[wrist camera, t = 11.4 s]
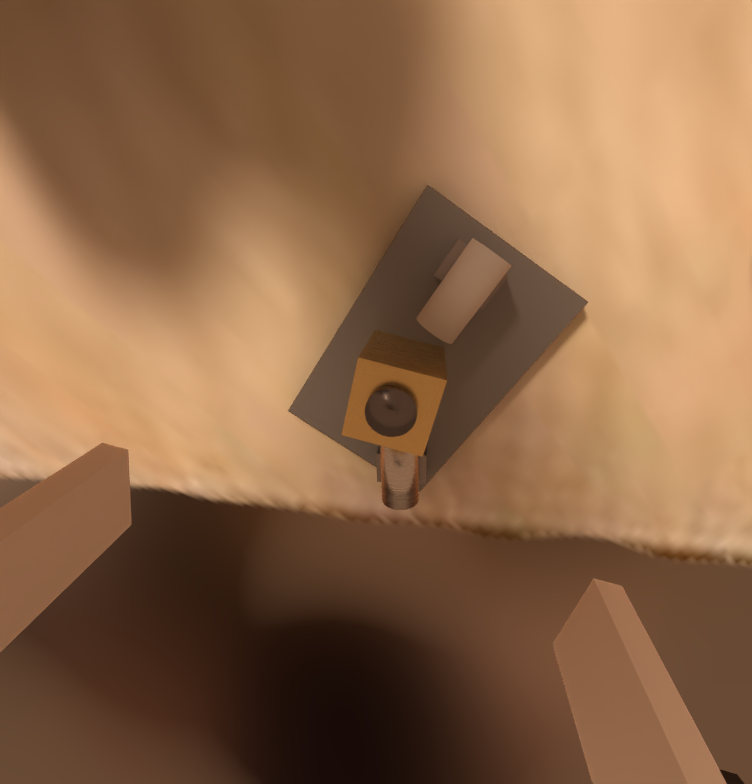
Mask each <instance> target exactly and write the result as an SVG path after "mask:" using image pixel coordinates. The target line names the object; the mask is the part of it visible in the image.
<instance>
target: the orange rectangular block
mask: <svg viewBox="0 0 752 784" xmlns="http://www.w3.org/2000/svg"><path fill="white" fill-rule="evenodd" d="M446 382H447V373H446V361H445V349H444V347H441V346H437V345H433V344H429V343H425V342H421V341H417V340H413V339H409V338H405V337H401V336H398V335H394V334H390V333H386V332H382V331H378V330H375V331H374V332H373V334H372V336H371V337H370V339H369V341H368V342H367V344H366V345H365V347H364V349H363V350H362V352H361V354H360V355H359V357H358V360H357V365H356V370H355V374H354V379H353V384H352V388H351V393H350V398H349V402H348V407H347V411H346V416H345V421H344V425H343V430H342V435H343V436H347V437H351V438H354V439H358V440H362V441H366V442H369V443H373V444H377V445H381V446H384V447H388V448H392V449H395V450H399V451H403V452H407V453H410V454H414V455H418V456H421V457H423V454H424V451H425V448H426V445H427V442H428V439H429V436H430V433H431V429H432V426H433V423H434V420H435V417H436V414H437V411H438V408H439V404H440V401H441V398H442V395H443V392H444V389H445V386H446Z"/></svg>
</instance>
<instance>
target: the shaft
mask: <svg viewBox="0 0 752 784" xmlns="http://www.w3.org/2000/svg"><path fill="white" fill-rule="evenodd" d="M376 457H377V482H381V484H382V501H383V503H384V504H385V505H386V506H387V507H389V508H391V509H395V510H406V509H410V508H412V507H414V506H415V505H416V504H417V503H418V500H419V484H426V474H427V445H426V448H425V451H424V454H423V457H421V456H418V455H414V454H410V453H407V452H403V451H399V450H395V449H392V448H388V447H384V446H381V445H378V449H377V453H376Z"/></svg>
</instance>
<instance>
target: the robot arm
mask: <svg viewBox="0 0 752 784" xmlns="http://www.w3.org/2000/svg"><path fill="white" fill-rule="evenodd" d="M130 525H131V507H130V480H129V456H128V450H127V449H123V448H119V447H116V446H112V445H108V444H105V443H101V444H100V445H98V446H97V447H95V448H94V449H92V450H90V451H89V452H87V453H86V454H84V455H83V456H81V457H79V458H78V459H76V460H75V461H73V462H72V463H70V464H69V465H67V466H65V467H64V468H62V469H61V470H59V471H58V472H56V473H54V474H53V475H51V476H50V477H48V478H47V479H45V480H44V481H42V482H41V483H39V484H38V485H36V486H34V487H33V488H31V489H30V490H28V491H27V492H25V493H23V494H22V495H20V496H19V497H17V498H16V499H14V500H12V501H11V502H9V503H8V504H6V505H5V506H3V507H2V508H0V652H1V651H2V650H3V649H4V648H5V647H6V646H7V645H8V644H9V643H10V642H11V641H12V640H13V639H14V638H15V637H16V636H17V635H18V634H19V633H20V632H21V631H22V630H24V629H25V628H26V627H27V626H28V625H29V624H30V623H31V622H32V621H33V620H34V619H35V618H36V617H37V616H38V615H39V614H40V613H41V612H42V611H43V610H44V609H45V608H46V607H47V606H48V605H49V604H50V603H51V602H52V601H53V600H54V599H55V598H56V597H57V596H58V595H60V593H62V592H63V591H64V590H65V589H66V588H67V587H68V586H69V585H70V584H71V583H72V582H73V581H74V580H75V579H76V578H77V577H78V576H79V575H80V574H81V573H82V572H83V571H84V570H85V569H86V568H87V567H88V566H89V565H90V564H91V563H92V562H93V561H94V560H95V559H96V558H98V557H99V556H100V554H102V553H103V552H104V551H105V550H106V549H107V548H108V547H109V546H110V545H111V544H112V543H113V542H114V541H115V540H116V539H117V538H118V537H119V536H120V535H121V534H122V533H123V532H124V531H125V530H126V529H127V528H128V527H129V526H130ZM552 645H553V648H554V652H555V655H556V659H557V662H558V666H559V669H560V673H561V676H562V680H563V683H564V687H565V690H566V694H567V697H568V701H569V704H570V708H571V711H572V715H573V718H574V721H575V725H576V728H577V732H578V736H579V739H580V742H581V746H582V749H583V753H584V756H585V760H586V763H587V767H588V770H589V774H590V777H591V781H592V784H744V783H743V781H742V780H741V779H740V778H739V776H738V775H737V774H734V773H730V772H727V771H724V770H720V769H719V768H718V766H717V765H716V763H715V761H714V759H713V757H712V755H711V753H710V751H709V749H708V747H707V746H706V744H705V742H704V740H703V738H702V736H701V734H700V732H699V730H698V728H697V727H696V725H695V723H694V721H693V719H692V718H691V715H690V713H689V712H688V710H687V708H686V706H685V704H684V702H683V701H682V699H681V696H680V695H679V693H678V691H677V689H676V687H675V685H674V683H673V681H672V680H671V678H670V676H669V674H668V672H667V670H666V668H665V666H664V664H663V662H662V661H661V659H660V657H659V655H658V653H657V651H656V649H655V647H654V645H653V643H652V642H651V640H650V638H649V636H648V634H647V632H646V630H645V628H644V626H643V625H642V623H641V621H640V619H639V617H638V615H637V613H636V611H635V610H634V608H633V606H632V604H631V602H630V600H629V598H628V596H627V594H626V592H625V591H624V589H623V587H622V586H620V585H616V584H613V583H609V582H605V581H602V580H598V579H595V578H594V579H593V580H592V582H591V583H590V585H589V586H588V588H587V589H586V591H585V593H584V594H583V596H582V598H581V599H580V601H579V602H578V604H577V605H576V607H575V609H574V610H573V612H572V613H571V615H570V616H569V618H568V620H567V621H566V623H565V624H564V626H563V628H562V629H561V631H560V632H559V634H558V636H557V637H556V639H555V640H554V642H553V644H552Z"/></svg>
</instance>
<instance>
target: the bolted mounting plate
mask: <svg viewBox="0 0 752 784" xmlns="http://www.w3.org/2000/svg"><path fill="white" fill-rule="evenodd" d="M587 303H588V302H587V301H586V300H585V299H583V298H582V297H581V296H579V295H578V294H577V293H575V292H574V291H572V290H571V289H570V288H568V287H567V286H566V285H564V284H563V283H561V282H560V281H559V280H557V279H556V278H555V277H553V276H552V275H551V274H549V273H548V272H546V271H545V270H544V269H542V268H541V267H540V266H538V265H537V264H535V263H534V262H533V261H531V260H530V259H529V258H527V257H526V256H525V255H523V254H522V253H520V252H519V251H518V250H516V249H515V248H514V247H512V246H511V245H509V244H508V243H507V242H505V241H504V240H503V239H501V238H500V237H499V236H497V235H496V234H494V233H493V232H492V231H490V230H489V229H488V228H486V227H485V226H483V225H482V224H481V223H479V222H478V221H477V220H475V219H474V218H472V217H471V216H470V215H468V214H467V213H466V212H464V211H463V210H462V209H460V208H459V207H457V206H456V205H455V204H453V203H452V202H451V201H449V200H448V199H446V198H445V197H444V196H442V195H441V194H440V193H438V192H437V191H436V190H434V189H433V188H431V187H430V186H429V185H427V187H426V188H425V190H424V192H423V193H422V195H421V196H420V198H419V200H418V201H417V203H416V204H415V206H414V208H413V209H412V211H411V213H410V214H409V216H408V217H407V219H406V221H405V222H404V224H403V226H402V227H401V229H400V230H399V232H398V234H397V235H396V237H395V239H394V240H393V242H392V243H391V245H390V247H389V248H388V250H387V251H386V253H385V255H384V256H383V258H382V260H381V261H380V263H379V264H378V266H377V268H376V269H375V271H374V273H373V274H372V276H371V277H370V279H369V281H368V282H367V284H366V285H365V287H364V289H363V290H362V292H361V294H360V295H359V297H358V298H357V300H356V302H355V303H354V305H353V307H352V308H351V310H350V311H349V313H348V315H347V316H346V318H345V320H344V321H343V323H342V324H341V326H340V328H339V329H338V331H337V332H336V334H335V336H334V337H333V339H332V341H331V342H330V344H329V345H328V347H327V349H326V350H325V352H324V354H323V355H322V357H321V358H320V360H319V362H318V363H317V365H316V366H315V368H314V370H313V371H312V373H311V375H310V376H309V378H308V379H307V381H306V383H305V384H304V386H303V388H302V389H301V391H300V392H299V394H298V396H297V397H296V399H295V401H294V402H293V404H292V405H291V407H290V409H289V410H288V411H289V412H291V413H292V414H294V415H295V416H297V417H298V418H300V419H302V420H303V421H305V422H306V423H308V424H309V425H311V426H313V427H314V428H316V429H317V430H319V431H320V432H322V433H324V434H325V435H327V436H328V437H330V438H331V439H333V440H335V441H336V442H338V443H339V444H341V445H342V446H344V447H346V448H347V449H349V450H350V451H352V452H354V453H355V454H357V455H358V456H360V457H361V458H363V459H365V460H366V461H368V462H369V463H371V464H372V465H374V466H376V467H377V457H376V453H377V449H378V445H377V444H373V443H369V442H366V441H362V440H358V439H354V438H351V437H347V436H343V435H342V430H343V425H344V421H345V416H346V411H347V407H348V402H349V398H350V393H351V388H352V384H353V379H354V374H355V370H356V365H357V360H358V357H359V355H360V354H361V352H362V350H363V349H364V347H365V345H366V344H367V342H368V341H369V339H370V337H371V336H372V334H373V332H374V331H375V330H378V331H382V332H386V333H390V334H394V335H398V336H401V337H405V338H409V339H413V340H417V341H421V342H425V343H429V344H433V345H437V346H441V347H444V349H445V361H446V373H447V382H446V386H445V389H444V392H443V395H442V398H441V401H440V404H439V408H438V411H437V414H436V417H435V420H434V423H433V426H432V429H431V433H430V436H429V439H428V442H427V474H426V484H427V483H428V481H429V480H430V479H431V478H432V477H433V476H434V475H435V474H436V472H437V471H438V470H439V469H440V468H441V467H442V466H443V465H444V464H445V462H446V461H447V460H448V459H449V458H450V457H451V456H452V455H453V453H454V452H455V451H456V450H457V449H458V448H459V447H460V446H461V444H462V443H463V442H464V441H465V440H466V439H467V438H468V437H469V435H470V434H471V433H472V432H473V431H474V430H475V429H476V428H477V426H478V425H479V424H480V423H481V422H482V421H483V420H484V419H485V417H486V416H487V415H488V414H489V413H490V412H491V411H492V410H493V409H494V407H495V406H496V405H497V404H498V403H499V402H500V401H501V400H502V398H503V397H504V396H505V395H506V394H507V393H508V392H509V391H510V389H511V388H512V387H513V386H514V385H515V384H516V383H517V382H518V380H519V379H520V378H521V377H522V376H523V375H524V374H525V373H526V371H527V370H528V369H529V368H530V367H531V366H532V365H533V364H534V362H535V361H536V360H537V359H538V358H539V357H540V356H541V355H542V354H543V352H544V351H545V350H546V349H547V348H548V347H549V346H550V345H551V343H552V342H553V341H554V340H555V339H556V338H557V337H558V336H559V334H560V333H561V332H562V331H563V330H564V329H565V328H566V327H567V325H568V324H569V323H570V322H571V321H572V320H573V319H574V318H575V316H576V315H577V314H578V313H579V312H580V311H581V310H582V309H583V307H584V306H585V305H586V304H587ZM426 484H419V492H420V490H421V489H422V488H423V487H424V486H425V485H426Z"/></svg>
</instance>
